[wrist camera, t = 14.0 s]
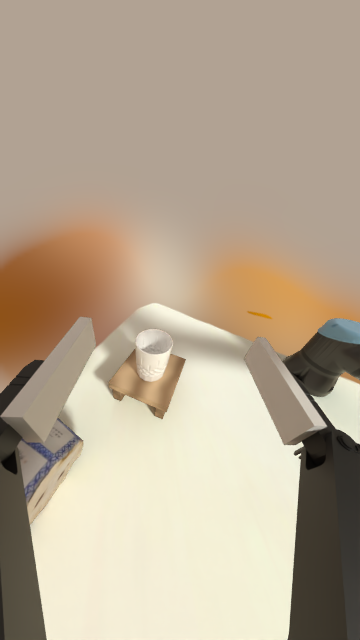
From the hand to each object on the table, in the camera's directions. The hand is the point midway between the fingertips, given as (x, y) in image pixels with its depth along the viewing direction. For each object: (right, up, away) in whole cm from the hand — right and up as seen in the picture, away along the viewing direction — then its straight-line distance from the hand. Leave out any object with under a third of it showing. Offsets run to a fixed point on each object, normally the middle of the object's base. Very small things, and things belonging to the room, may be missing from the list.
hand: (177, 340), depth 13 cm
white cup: (-7, -11, +27) cm, 30 cm away
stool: (-8, -16, +31) cm, 36 cm away
